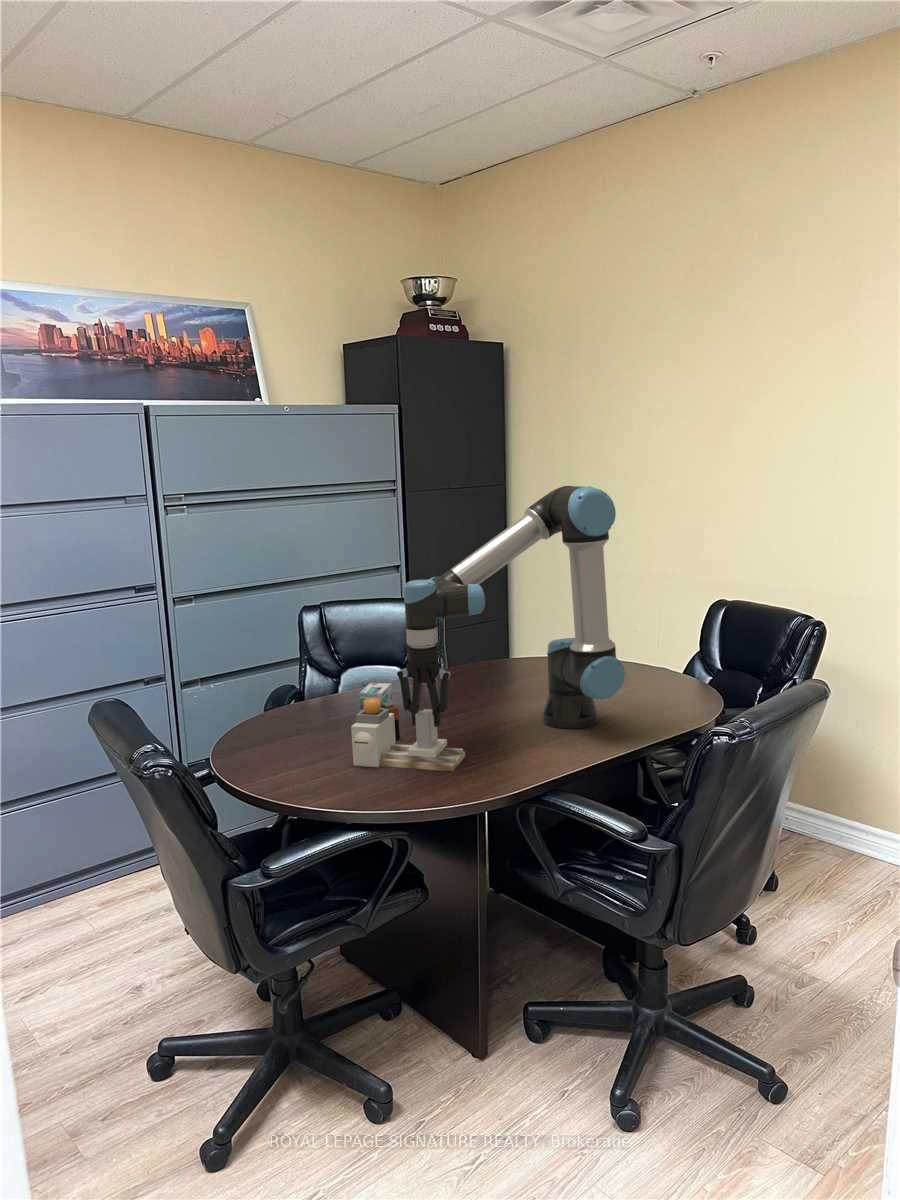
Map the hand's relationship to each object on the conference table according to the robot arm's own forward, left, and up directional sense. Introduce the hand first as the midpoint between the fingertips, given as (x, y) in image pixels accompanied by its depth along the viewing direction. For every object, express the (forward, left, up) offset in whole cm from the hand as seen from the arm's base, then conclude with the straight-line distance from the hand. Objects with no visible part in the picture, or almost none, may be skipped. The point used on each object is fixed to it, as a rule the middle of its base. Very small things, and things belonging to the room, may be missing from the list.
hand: (427, 738), depth 223 cm
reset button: (+14, 0, +6) cm, 15 cm away
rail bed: (+1, 0, -6) cm, 6 cm away
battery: (+17, -15, -6) cm, 24 cm away
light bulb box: (+24, -26, -6) cm, 36 cm away
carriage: (0, 0, -3) cm, 3 cm away
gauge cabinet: (+14, 0, -6) cm, 15 cm away
